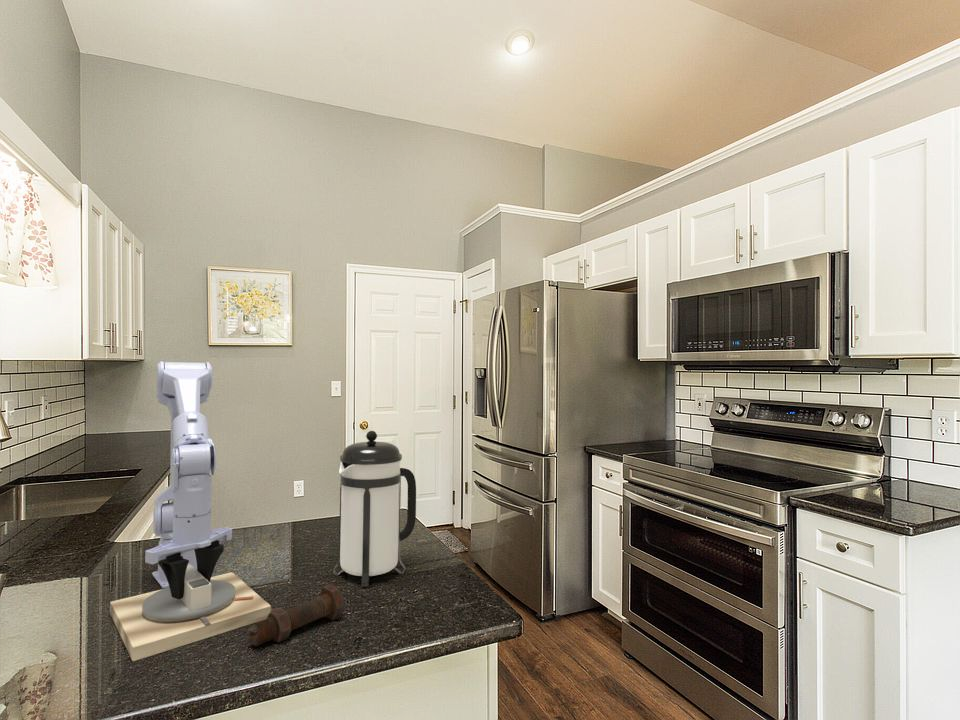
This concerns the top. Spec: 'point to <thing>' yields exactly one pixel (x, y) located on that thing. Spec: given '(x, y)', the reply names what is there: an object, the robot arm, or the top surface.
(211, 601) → the dial
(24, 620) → the top surface
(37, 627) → the top surface
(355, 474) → the coffee press
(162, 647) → the dial board
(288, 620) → the bolt
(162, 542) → the robot arm
